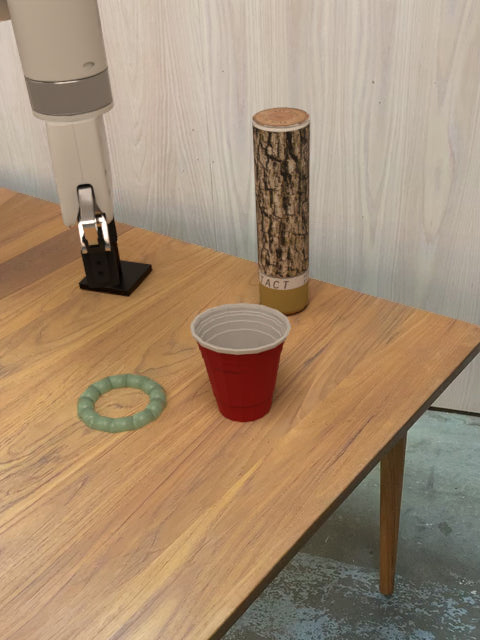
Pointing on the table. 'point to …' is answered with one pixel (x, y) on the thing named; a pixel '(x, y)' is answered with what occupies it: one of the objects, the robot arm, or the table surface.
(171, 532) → the table surface
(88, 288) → the ring stand
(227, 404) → the plastic cup
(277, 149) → the paper tube
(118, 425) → the ring
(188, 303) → the table surface
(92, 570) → the table surface
